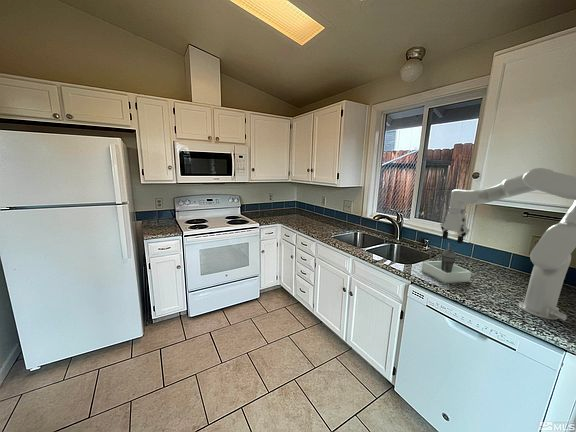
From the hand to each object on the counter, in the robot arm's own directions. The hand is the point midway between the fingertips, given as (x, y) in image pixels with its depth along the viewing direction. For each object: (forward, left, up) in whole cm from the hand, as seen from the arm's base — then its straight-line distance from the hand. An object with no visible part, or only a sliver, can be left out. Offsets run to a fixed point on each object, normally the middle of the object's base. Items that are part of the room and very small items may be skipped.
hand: (452, 240), depth 135 cm
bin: (+1, 0, -22) cm, 22 cm away
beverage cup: (0, 0, -21) cm, 21 cm away
